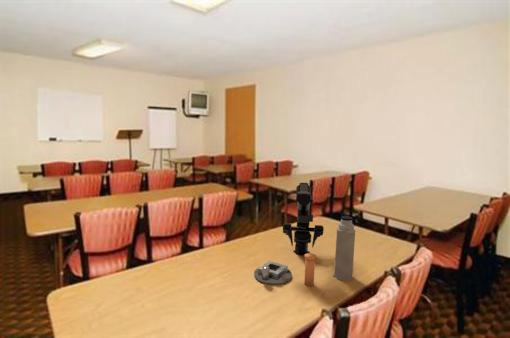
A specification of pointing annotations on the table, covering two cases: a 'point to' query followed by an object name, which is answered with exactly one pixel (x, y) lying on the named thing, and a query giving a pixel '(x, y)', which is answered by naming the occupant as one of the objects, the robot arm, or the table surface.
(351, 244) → the thermos bottle
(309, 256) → the wooden peg
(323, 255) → the table surface
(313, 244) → the robot arm
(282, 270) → the grey peg hole base
